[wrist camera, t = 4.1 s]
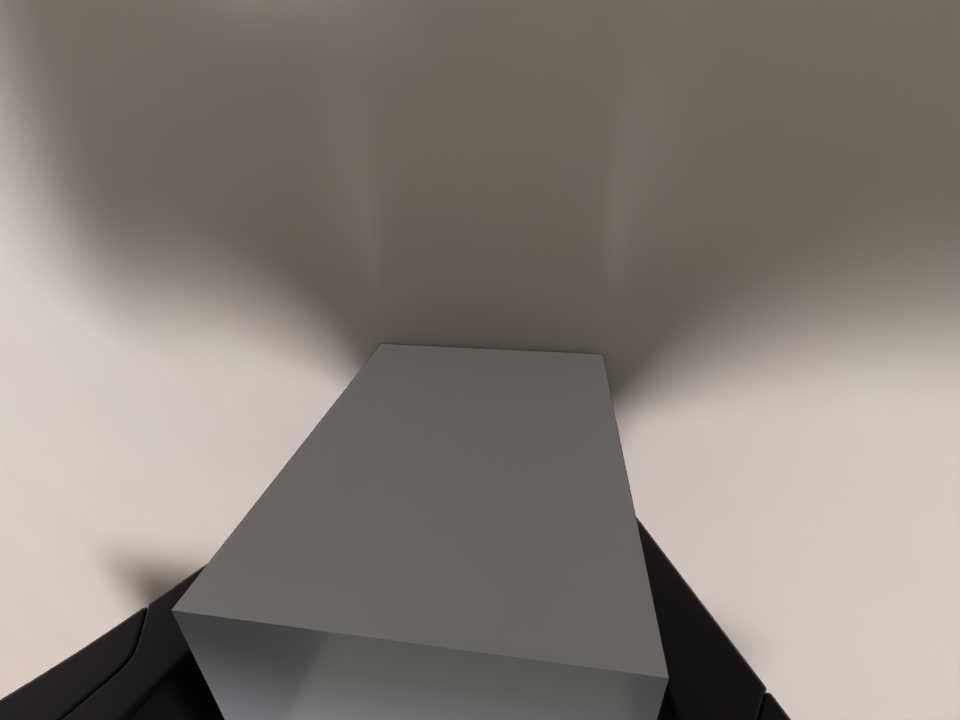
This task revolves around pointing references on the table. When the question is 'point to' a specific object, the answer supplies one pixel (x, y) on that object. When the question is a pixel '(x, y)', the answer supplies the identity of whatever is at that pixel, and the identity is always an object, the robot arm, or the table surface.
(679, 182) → the table surface
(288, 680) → the stone block
